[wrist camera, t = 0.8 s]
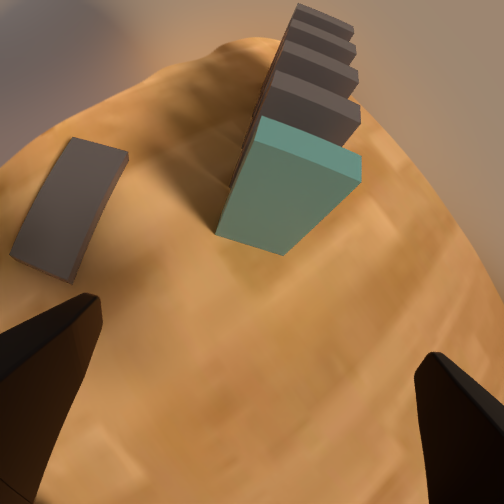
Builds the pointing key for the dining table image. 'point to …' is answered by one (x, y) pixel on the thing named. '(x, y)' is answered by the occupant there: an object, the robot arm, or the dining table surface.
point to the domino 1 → (69, 208)
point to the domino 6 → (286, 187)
